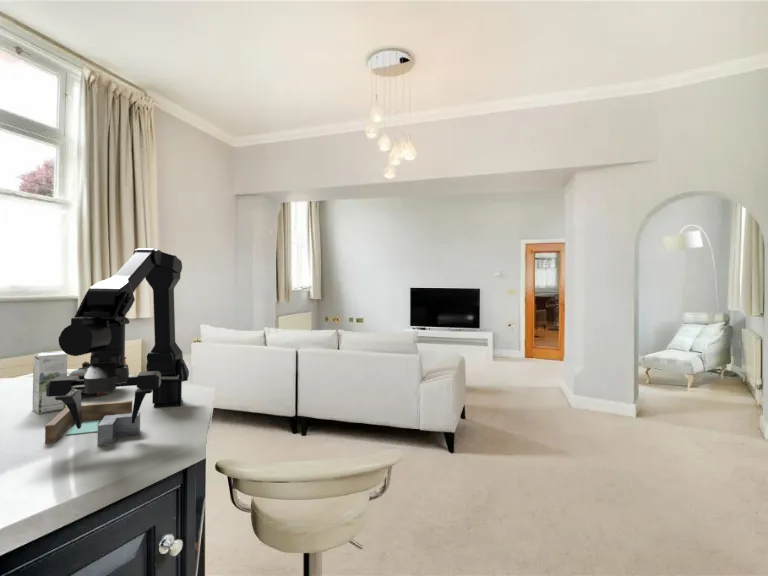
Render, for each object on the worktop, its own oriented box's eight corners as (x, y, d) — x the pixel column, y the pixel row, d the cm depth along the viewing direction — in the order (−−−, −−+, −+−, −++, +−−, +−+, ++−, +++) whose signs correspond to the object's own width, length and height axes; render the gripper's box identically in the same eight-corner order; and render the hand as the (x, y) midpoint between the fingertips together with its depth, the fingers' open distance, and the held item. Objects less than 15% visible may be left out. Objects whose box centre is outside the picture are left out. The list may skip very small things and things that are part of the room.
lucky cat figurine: (80, 387, 129) (107, 346, 134) (116, 403, 129) (141, 361, 133) (49, 384, 115) (80, 338, 119) (89, 402, 115) (119, 355, 119)
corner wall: (132, 414, 103) (132, 400, 103) (121, 435, 89) (121, 418, 89) (67, 420, 98) (67, 405, 98) (45, 443, 84) (45, 425, 84)
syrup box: (60, 405, 110) (61, 350, 110) (66, 409, 106) (67, 352, 106) (32, 410, 106) (33, 352, 106) (38, 414, 102) (39, 355, 102)
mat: (66, 435, 88) (66, 434, 88) (77, 423, 96) (77, 422, 96) (116, 430, 92) (116, 429, 92) (122, 418, 100) (122, 418, 100)
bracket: (104, 434, 89) (105, 415, 89) (140, 430, 92) (140, 412, 92) (97, 445, 83) (97, 425, 83) (135, 441, 85) (135, 421, 85)
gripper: (36, 356, 74) (34, 445, 74) (156, 351, 81) (155, 432, 81) (56, 348, 84) (54, 426, 84) (161, 344, 91) (160, 416, 91)
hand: (107, 425), depth 85 cm, fingers open, 9 cm apart
